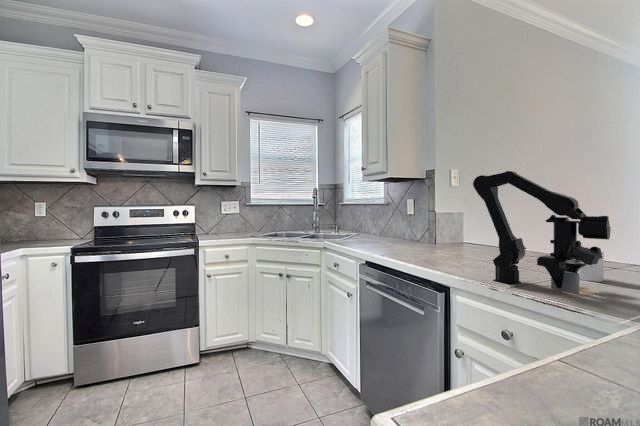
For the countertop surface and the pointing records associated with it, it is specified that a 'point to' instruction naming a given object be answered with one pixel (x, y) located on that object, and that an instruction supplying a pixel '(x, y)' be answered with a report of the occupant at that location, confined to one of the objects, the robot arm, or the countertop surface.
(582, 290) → the cork mat
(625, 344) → the countertop surface
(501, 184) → the robot arm
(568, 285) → the slate tile
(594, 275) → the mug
